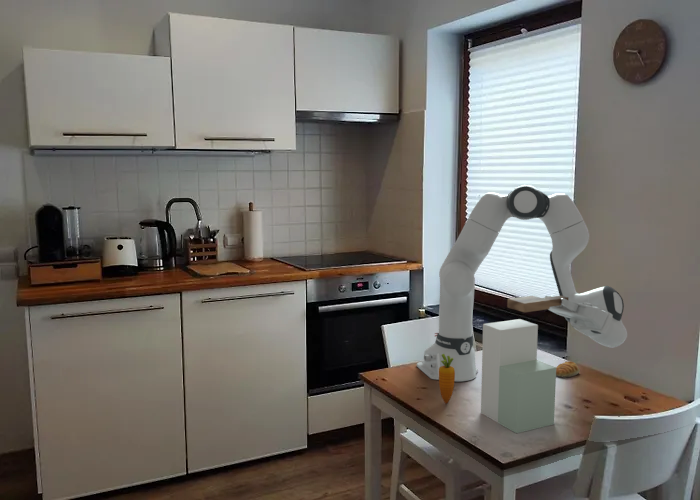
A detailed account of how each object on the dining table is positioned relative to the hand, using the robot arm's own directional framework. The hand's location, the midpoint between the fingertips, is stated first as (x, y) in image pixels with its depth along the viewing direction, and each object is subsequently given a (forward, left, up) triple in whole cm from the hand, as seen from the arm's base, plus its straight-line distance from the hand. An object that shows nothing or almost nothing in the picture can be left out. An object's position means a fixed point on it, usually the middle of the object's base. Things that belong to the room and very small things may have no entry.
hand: (556, 299), depth 173 cm
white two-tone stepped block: (+4, -16, -32) cm, 36 cm away
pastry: (-18, +24, -32) cm, 44 cm away
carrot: (-14, -28, -32) cm, 45 cm away
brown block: (0, -6, -2) cm, 6 cm away
